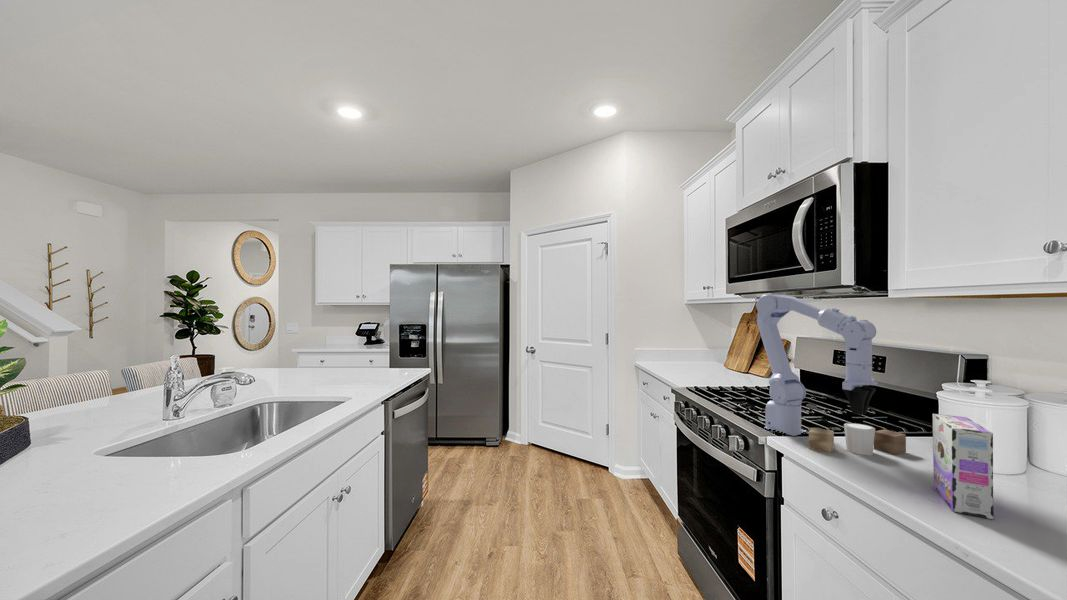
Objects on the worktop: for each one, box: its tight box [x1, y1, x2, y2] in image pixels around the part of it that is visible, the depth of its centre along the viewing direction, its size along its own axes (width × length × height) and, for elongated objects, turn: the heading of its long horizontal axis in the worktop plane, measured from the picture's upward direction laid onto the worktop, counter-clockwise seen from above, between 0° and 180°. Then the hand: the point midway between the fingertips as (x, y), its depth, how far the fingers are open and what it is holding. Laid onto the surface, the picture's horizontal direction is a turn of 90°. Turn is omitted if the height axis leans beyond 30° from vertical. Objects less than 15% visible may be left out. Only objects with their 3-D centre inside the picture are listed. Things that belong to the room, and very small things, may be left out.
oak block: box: [808, 427, 835, 454], centre depth 117 cm, size 5×5×5 cm
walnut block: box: [873, 429, 907, 456], centre depth 115 cm, size 5×5×5 cm
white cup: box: [843, 422, 876, 456], centre depth 114 cm, size 7×7×7 cm
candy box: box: [931, 413, 995, 520], centre depth 85 cm, size 14×6×16 cm, turn 148°
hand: (859, 413), depth 114 cm, fingers closed
